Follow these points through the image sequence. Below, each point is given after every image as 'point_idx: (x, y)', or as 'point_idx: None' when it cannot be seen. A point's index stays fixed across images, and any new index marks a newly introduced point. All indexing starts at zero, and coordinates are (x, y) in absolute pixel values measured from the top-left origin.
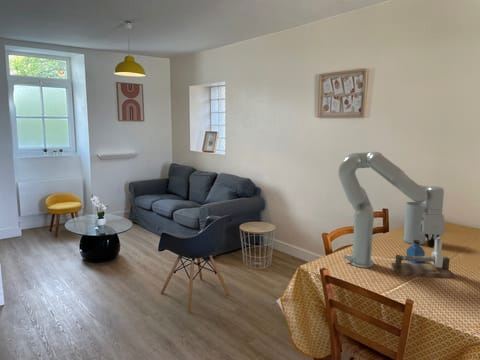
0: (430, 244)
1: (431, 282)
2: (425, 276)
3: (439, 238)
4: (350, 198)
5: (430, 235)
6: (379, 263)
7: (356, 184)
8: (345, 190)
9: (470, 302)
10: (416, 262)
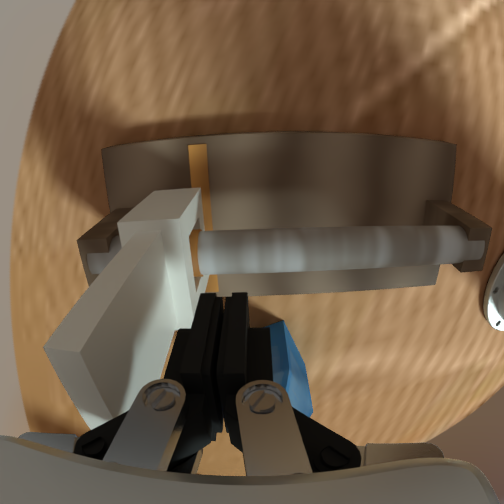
0: (245, 317)
1: (282, 44)
2: (289, 131)
3: (84, 411)
4: None
5: (253, 462)
6: (458, 298)
7: None
8: None
9: None
10: (270, 331)
